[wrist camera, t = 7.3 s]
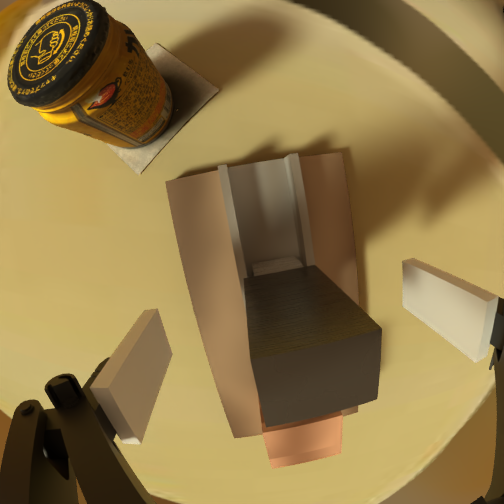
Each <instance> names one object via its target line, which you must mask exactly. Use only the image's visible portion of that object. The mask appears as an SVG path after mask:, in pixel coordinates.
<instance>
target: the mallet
mask: <svg viewBox="0 0 504 504" xmlns="http://www.w3.org/2000/svg"><path fill="white" fill-rule="evenodd" d="M252 268H253V274H254V276H253V277H248V278H243V279H244V292H245V304H246V317H247V329H248V341H249V352H250V361H251V366H252V370H253V374H254V379H255V383H256V387H257V392H258V396H259V400H260V404H261V409H262V413H263V417H264V421H265V425H266V427H272V426H277V425H283V424H288V423H293V422H297V421H302V420H306V419H311V418H315V417H319V416H323V415H327V414H331V413H334V412H338V411H341V410H345V409H348V408H351V407H355V406H358V405H361V404H364V403H367V402H370V401H373V400H376V399H377V396H378V386H379V374H380V359H381V335H382V328H381V327H380V326H379V325H378V324H377V323H376V322H375V321H374V320H373V319H372V318H371V317H370V316H368V315H367V314H366V313H365V312H364V311H363V310H362V309H361V308H360V307H359V306H358V305H357V304H356V303H355V302H354V301H353V300H352V299H351V298H350V297H349V296H348V295H347V294H346V293H345V292H344V291H343V290H341V289H340V288H339V287H338V286H337V285H336V284H335V283H334V282H333V281H332V280H331V279H330V278H329V277H328V276H327V275H326V274H324V273H323V272H322V271H321V270H320V269H319V268H318V267H317V266H316V265H310V266H305V267H304V266H303V264H302V263H301V262H300V261H299V260H298V259H297V258H296V257H295V256H291V257H286V258H280V259H275V260H270V261H264V262H259V263H254V264H252Z"/></svg>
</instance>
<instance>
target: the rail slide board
mask: <svg viewBox="0 0 504 504" xmlns="http://www.w3.org/2000/svg"><path fill="white" fill-rule="evenodd" d="M166 188H167V193H168V199H169V204H170V209H171V214H172V219H173V224H174V229H175V233H176V238H177V243H178V247H179V252H180V256H181V260H182V265H183V269H184V273H185V277H186V281H187V285H188V289H189V293H190V297H191V301H192V305H193V309H194V312H195V316H196V320H197V323H198V327H199V331H200V334H201V338H202V341H203V345H204V348H205V351H206V355H207V358H208V361H209V365H210V368H211V371H212V374H213V377H214V381H215V384H216V387H217V390H218V393H219V396H220V399H221V402H222V405H223V408H224V411H225V414H226V416H227V419H228V422H229V425H230V428H231V430H232V433H233V436H234V438H241V437H249V436H256V435H262V434H263V437H264V441H265V445H266V448H267V452H268V456H269V459H270V463H271V467H272V469H273V468H279V467H285V466H290V465H295V464H300V463H305V462H309V461H313V460H318V459H322V458H326V457H329V456H333V455H337V454H340V453H341V447H342V421H343V416H346V415H350V414H353V413H356V412H358V406H355V407H351V408H348V409H345V410H341V411H338V412H334V413H331V414H327V415H323V416H319V417H315V418H311V419H306V420H302V421H297V422H293V423H288V424H283V425H277V426H272V427H266V425H265V421H264V417H263V413H262V409H261V404H260V400H259V396H258V392H257V387H256V383H255V379H254V374H253V370H252V366H251V361H250V352H249V341H248V329H247V317H246V304H245V292H244V279H243V278H248V277H253V276H254V274H253V268H252V264H254V263H259V262H264V261H270V260H275V259H280V258H286V257H291V256H295V257H296V258H297V259H298V260H299V261H300V262H301V263H302V264H303V266H304V267H305V266H310V265H316V266H317V267H318V268H319V269H320V270H321V271H322V272H323V273H324V274H326V275H327V276H328V277H329V278H330V279H331V280H332V281H333V282H334V283H335V284H336V285H337V286H338V287H339V288H340V289H341V290H343V291H344V292H345V293H346V294H347V295H348V296H349V297H350V298H351V299H352V300H353V301H354V302H355V303H356V304H357V305H358V306H359V294H358V277H357V264H356V252H355V242H354V232H353V223H352V215H351V207H350V200H349V193H348V186H347V180H346V174H345V168H344V162H343V157H342V152H339V153H329V154H320V155H311V156H303V157H298V153H294V154H289V155H287V156H286V157H285V158H283V159H276V160H269V161H263V162H256V163H250V164H245V165H239V166H233V167H227V165H226V164H225V165H220V166H218V170H216V171H211V172H206V173H202V174H197V175H192V176H188V177H183V178H179V179H174V180H170V181H166Z"/></svg>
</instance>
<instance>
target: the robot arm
mask: <svg viewBox="0 0 504 504" xmlns="http://www.w3.org/2000/svg"><path fill="white" fill-rule="evenodd" d="M402 263H403V307H404V308H405V309H406V310H408V311H409V312H411V313H412V314H413V315H415V316H416V317H417V318H419V319H420V320H421V321H422V322H424V323H425V324H426V325H428V326H429V327H430V328H432V329H433V330H434V331H436V332H437V333H438V334H439V335H441V336H442V337H443V338H445V339H446V340H447V341H448V342H450V343H451V344H452V345H454V346H455V347H456V348H457V349H459V350H460V351H461V352H462V353H464V354H465V355H466V356H467V357H469V358H470V359H471V360H472V361H474V362H475V363H477V362H478V361H480V360H482V359H483V358H485V357H486V356H487V354H488V350H489V345H490V344H491V345H493V346H494V347H495V348H494V352H493V356H492V360H491V363H490V367H489V370H491V368H492V366H493V365H494V370H495V380H496V395H497V396H496V397H497V434H496V450H495V460H494V469H493V476H492V482H491V485H490V488H489V490H488V492H487V494H486V496H485V498H483V497H482V496H481V497H479V498H478V499H477V500H475V501H474V502H472V503H471V504H504V299H502V298H500V297H499V296H497V295H495V294H493V293H491V292H489V291H486V290H484V289H482V288H480V287H478V286H476V285H474V284H471V283H469V282H467V281H465V280H463V279H460V278H458V277H456V276H454V275H452V274H449V273H447V272H445V271H442V270H440V269H438V268H436V267H433V266H431V265H429V264H426V263H424V262H421V261H419V260H417V259H414V258H412V259H407V260H403V261H402ZM171 357H172V351H171V348H170V345H169V342H168V340H167V336H166V333H165V330H164V327H163V324H162V321H161V318H160V314H159V311H158V309H151V310H144V312H143V313H142V314H141V316H140V317H139V318H138V320H137V321H136V322H135V324H134V325H133V327H132V328H131V329H130V331H129V332H128V333H127V335H126V336H125V338H124V339H123V340H122V342H121V343H120V344H119V346H118V347H117V349H116V350H115V352H114V353H113V354H112V356H111V357H109V358H106V359H105V360H104V361H103V362H101V363H100V364H99V365H98V367H97V368H96V369H95V372H93V374H92V375H91V377H90V378H89V379H88V381H87V382H86V383H85V385H84V386H83V388H81V386H80V385H79V383H78V381H77V379H76V377H75V376H74V375H73V374H61V375H58V376H56V377H54V378H52V379H51V380H50V381H48V382H47V384H46V385H45V389H44V390H45V392H46V393H47V395H48V397H49V399H50V400H51V402H52V404H53V405H54V407H55V408H53V409H46V410H44V409H43V407H42V406H41V404H40V403H39V401H38V400H28V401H24V402H23V403H20V405H19V406H18V407H17V408H16V410H15V412H14V415H13V419H12V422H11V426H10V429H9V433H8V437H7V441H6V445H5V450H4V454H3V459H2V465H1V470H0V504H79V503H78V495H77V485H76V478H77V480H78V483H79V485H80V488H81V490H82V492H83V495H84V497H85V500H86V501H87V504H156V502H155V501H154V500H153V498H152V497H151V496H150V494H149V493H148V492H147V490H146V489H145V488H144V486H143V485H142V484H141V482H140V481H139V479H138V478H137V476H136V475H135V473H134V472H133V470H132V469H131V467H130V466H129V464H128V463H127V461H126V460H125V458H124V456H123V455H122V453H121V451H120V450H119V448H118V446H117V445H116V443H115V442H114V441H113V440H114V438H115V435H116V433H117V435H118V436H119V438H120V439H121V441H122V442H123V443H126V444H141V443H142V440H143V437H144V434H145V431H146V428H147V425H148V422H149V419H150V416H151V413H152V410H153V408H154V405H155V402H156V399H157V396H158V393H159V390H160V388H161V385H162V382H163V379H164V376H165V374H166V371H167V368H168V365H169V363H170V360H171Z"/></svg>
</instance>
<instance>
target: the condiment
mask: <svg viewBox="0 0 504 504" xmlns="http://www.w3.org/2000/svg"><path fill="white" fill-rule="evenodd" d="M7 80H8V87H9V90H10V91H11V94H12V96H13V98H14V99H15V100H16V101H17V102H18V103H19V104H22V105H24V106H29V107H32V108H33V109H35V110H37V111H38V112H39V114H40V115H41V116H42V117H43V118H44V119H45V120H47V121H48V122H50V123H52V124H54V125H56V126H59V127H62V128H66V129H69V130H72V131H76V132H78V133H82V134H84V135H86V136H90V137H92V138H95V139H98V140H101V141H103V142H105V143H106V144H107V145H108V146H109V147H110V148H111V149H112V150H113V151H114V152H115V153H116V154H117V155H118V156H119V157H120V158H121V159H122V160H123V161H124V162H125V163H126V164H127V165H128V166H129V167H130V168H131V169H132V170H133V171H134V172H135V173H137V174H138V175H139V174H140V173H141V172H142V171H143V169H144V168H145V167H146V166H147V165H148V164H149V163H150V161H151V160H152V159H153V158H154V157H155V156H156V155H157V153H158V152H159V151H160V150H161V149H162V148H163V147H164V146H165V145H166V144H167V143H168V141H169V140H170V139H171V138H172V137H173V136H174V135H175V134H176V133H177V131H178V130H179V129H180V128H181V127H182V126H183V125H184V124H185V123H186V122H187V121H188V120H189V119H190V118H191V117H192V116H193V115H194V114H195V113H196V112H197V111H198V110H199V109H200V108H201V107H202V106H203V105H204V104H205V103H206V102H207V101H208V100H209V99H210V98H211V97H212V96H213V95H214V94H215V93H217V92H218V91H219V89H218V88H216V87H215V86H214V85H212V84H211V83H209V82H208V81H207V80H206V79H204V78H203V77H202V76H200V75H199V74H198V73H196V72H195V71H194V70H192V69H191V68H190V67H188V66H187V65H186V64H184V63H183V62H181V61H180V60H179V59H177V58H176V57H175V56H173V55H172V54H171V53H169V52H168V51H166V50H165V49H164V48H162V47H161V46H159V45H158V44H156V43H155V44H154V45H153V46H151V47H150V48H149V49H148V50H147V51H146V52H145V50H144V48H143V47H142V46H141V44H140V42H139V41H138V40H137V38H136V37H135V35H134V33H133V32H132V31H131V30H130V29H129V28H128V27H127V26H126V25H125V24H123V23H121V22H119V21H117V20H115V19H114V18H113V17H112V16H110V15H109V14H108V13H107V11H106V8H105V7H102V6H101V5H100V4H99V3H97V2H95V1H93V0H72V1H69V2H66V3H64V4H61V5H59V6H57V7H55V8H53V9H52V10H51V11H49V12H47V13H46V14H45V15H43V16H42V17H41V18H40V19H39V20H38V21H36V22H35V23H34V24H33V25H32V26H31V27H30V29H29V30H28V31H27V33H26V34H25V35H24V37H23V38H22V40H21V41H20V43H19V44H18V46H17V48H16V50H15V52H14V54H13V56H12V59H11V61H10V64H9V69H8V78H7ZM177 109H178V111H176V110H177Z"/></svg>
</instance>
